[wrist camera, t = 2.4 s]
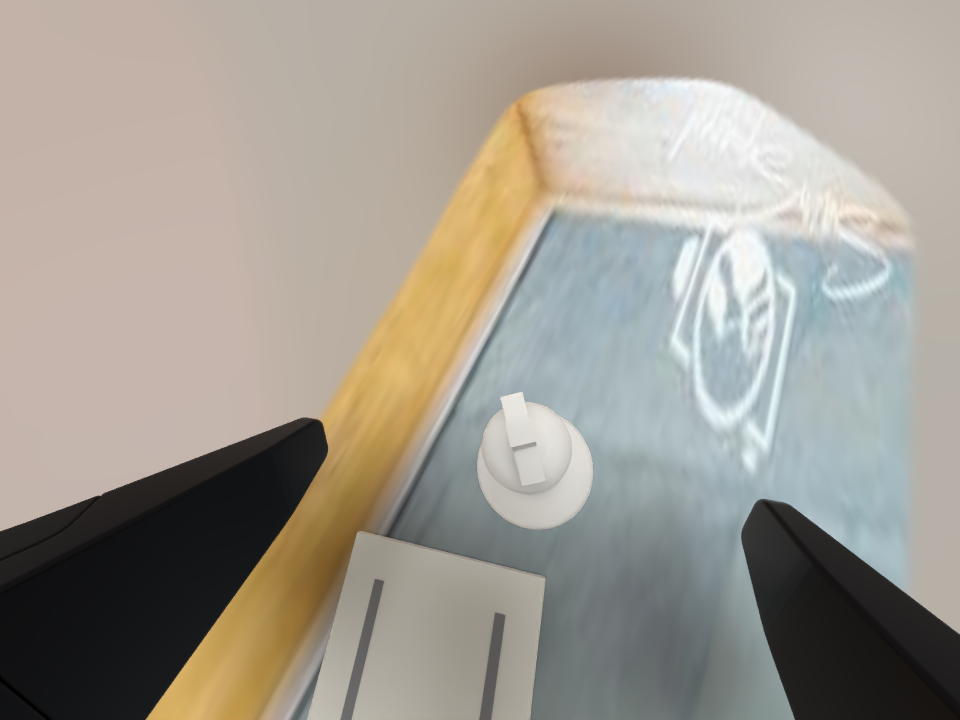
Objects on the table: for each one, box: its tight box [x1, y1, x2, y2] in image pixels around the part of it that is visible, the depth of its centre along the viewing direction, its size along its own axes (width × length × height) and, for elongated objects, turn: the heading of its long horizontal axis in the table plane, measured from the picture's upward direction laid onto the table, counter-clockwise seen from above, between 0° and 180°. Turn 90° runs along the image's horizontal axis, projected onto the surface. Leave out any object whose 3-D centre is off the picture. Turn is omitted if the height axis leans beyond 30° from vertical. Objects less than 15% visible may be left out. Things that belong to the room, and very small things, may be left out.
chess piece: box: [477, 392, 593, 530], centre depth 11 cm, size 5×5×10 cm
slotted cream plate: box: [307, 531, 546, 720], centre depth 13 cm, size 10×8×1 cm
